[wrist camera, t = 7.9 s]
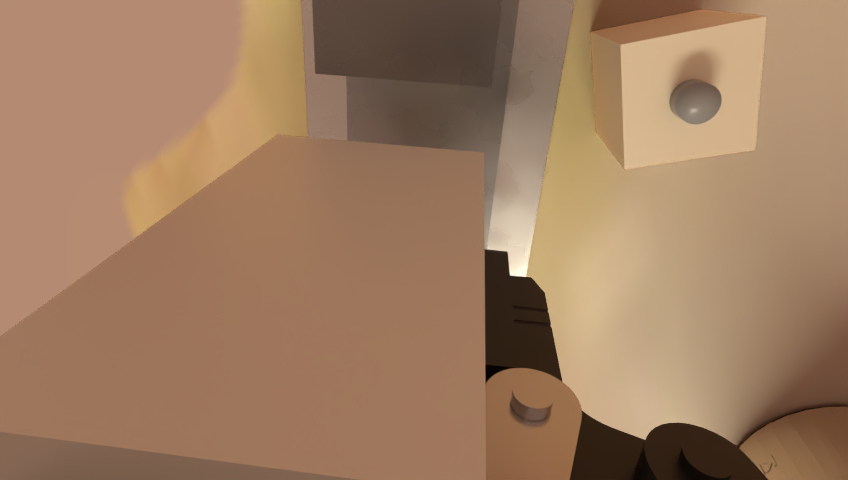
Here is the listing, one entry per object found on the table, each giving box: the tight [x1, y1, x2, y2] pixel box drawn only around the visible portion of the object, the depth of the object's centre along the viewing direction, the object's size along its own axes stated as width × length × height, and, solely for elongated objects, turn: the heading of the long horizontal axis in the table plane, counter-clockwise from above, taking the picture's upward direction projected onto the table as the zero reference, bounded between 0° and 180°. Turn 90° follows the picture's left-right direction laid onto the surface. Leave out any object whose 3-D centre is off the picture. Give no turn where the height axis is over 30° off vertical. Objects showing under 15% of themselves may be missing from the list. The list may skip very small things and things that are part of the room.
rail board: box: [301, 0, 575, 277], centre depth 18 cm, size 10×22×9 cm, turn 177°
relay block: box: [590, 9, 767, 170], centre depth 17 cm, size 4×4×6 cm
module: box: [0, 135, 486, 480], centre depth 8 cm, size 4×5×8 cm
